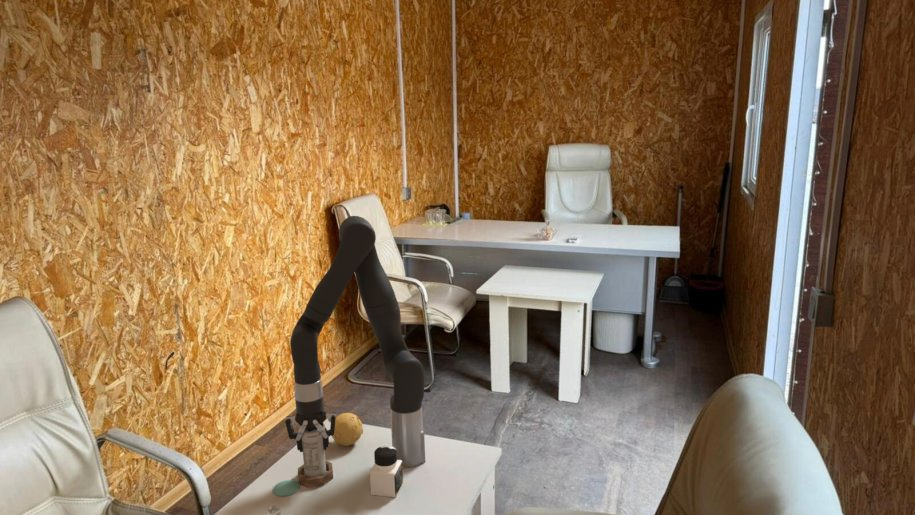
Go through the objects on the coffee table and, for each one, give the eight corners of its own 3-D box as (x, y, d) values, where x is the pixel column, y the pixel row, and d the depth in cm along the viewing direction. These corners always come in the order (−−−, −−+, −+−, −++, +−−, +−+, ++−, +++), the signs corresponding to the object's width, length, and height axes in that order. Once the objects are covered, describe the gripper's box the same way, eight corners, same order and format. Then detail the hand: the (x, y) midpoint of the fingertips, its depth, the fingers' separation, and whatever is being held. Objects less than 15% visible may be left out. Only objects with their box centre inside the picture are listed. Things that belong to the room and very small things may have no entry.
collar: (332, 465, 180) (331, 458, 179) (333, 484, 171) (333, 476, 170) (298, 470, 178) (297, 462, 177) (298, 489, 168) (297, 481, 168)
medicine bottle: (395, 498, 164) (393, 457, 161) (370, 495, 165) (368, 455, 163) (403, 482, 171) (401, 443, 168) (379, 480, 172) (376, 441, 169)
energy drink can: (330, 473, 176) (327, 425, 172) (317, 484, 170) (313, 436, 167) (313, 468, 178) (310, 421, 175) (300, 479, 173) (296, 431, 170)
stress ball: (331, 443, 194) (321, 437, 185) (342, 413, 198) (333, 405, 189) (360, 451, 192) (351, 446, 183) (370, 421, 196) (362, 414, 187)
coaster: (299, 479, 173) (299, 478, 173) (299, 494, 166) (299, 492, 166) (273, 483, 172) (273, 482, 171) (272, 498, 165) (272, 496, 165)
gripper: (336, 386, 173) (340, 440, 177) (284, 390, 171) (289, 445, 175) (334, 398, 166) (338, 454, 170) (280, 402, 164) (285, 459, 168)
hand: (313, 449), depth 172 cm, fingers closed on energy drink can, 6 cm apart
